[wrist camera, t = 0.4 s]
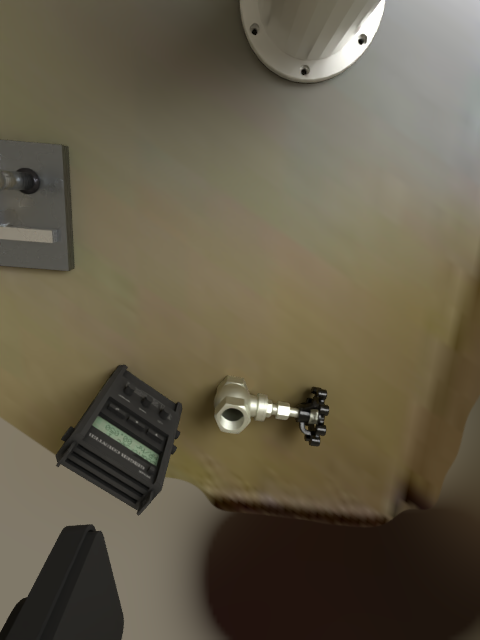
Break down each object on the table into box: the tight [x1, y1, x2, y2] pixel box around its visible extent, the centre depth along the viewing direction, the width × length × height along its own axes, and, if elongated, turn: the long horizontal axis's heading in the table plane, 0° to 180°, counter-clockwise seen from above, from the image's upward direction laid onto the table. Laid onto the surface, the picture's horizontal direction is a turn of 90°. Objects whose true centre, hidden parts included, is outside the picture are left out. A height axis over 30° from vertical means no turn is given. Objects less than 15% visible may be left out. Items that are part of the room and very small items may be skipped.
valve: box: [214, 376, 329, 446], centre depth 44 cm, size 7×7×12 cm
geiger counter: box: [56, 365, 182, 515], centre depth 40 cm, size 10×4×15 cm, turn 51°
